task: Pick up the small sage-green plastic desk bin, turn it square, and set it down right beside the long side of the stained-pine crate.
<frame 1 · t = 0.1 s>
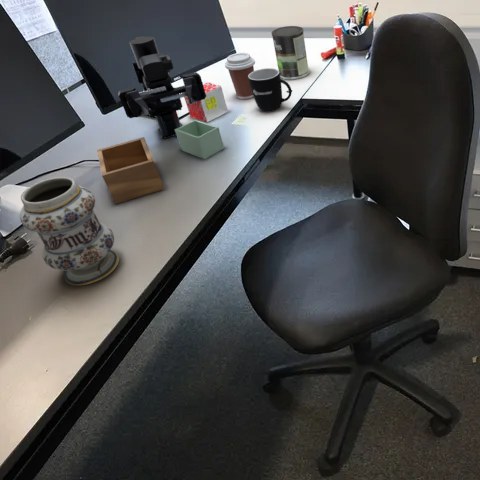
hand: (170, 106, 109), 17 cm above the table, tool horizontal, fingers open, 9 cm apart
coffee cup: (247, 95, 154), on the table
apothecary jar: (92, 268, 93), on the table
mug: (275, 108, 144), on the table
red and white cube: (209, 114, 144), on the table
crate: (136, 182, 117), on the table
bin: (203, 149, 127), on the table
coffee can: (294, 74, 165), on the table
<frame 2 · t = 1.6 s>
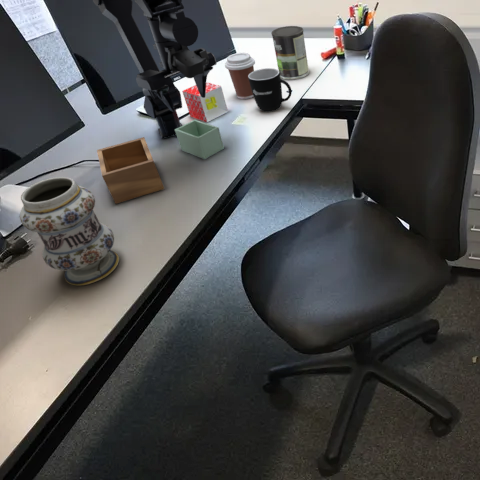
hand: (188, 104, 119), 13 cm above the table, tool pointing down, fingers open, 9 cm apart
nothing on the table moved.
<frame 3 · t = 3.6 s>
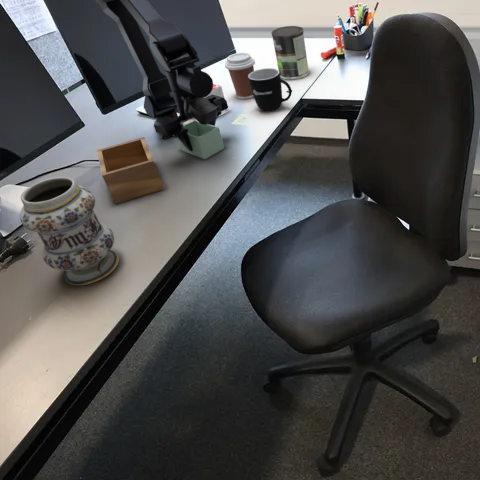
hand: (201, 145, 126), 1 cm above the table, tool pointing down, fingers closed on bin, 6 cm apart
bin: (203, 149, 127), on the table, touching gripper
everything else where it was.
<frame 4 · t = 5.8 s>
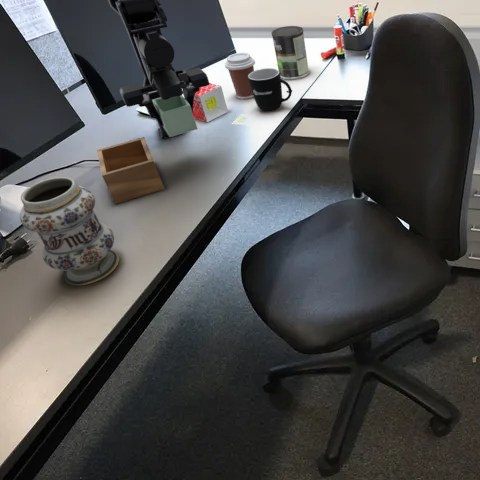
hand: (177, 121, 115), 11 cm above the table, tool pointing down, fingers closed on bin, 6 cm apart
bin: (178, 126, 116), point 10 cm above the table, touching gripper
everything else where it was.
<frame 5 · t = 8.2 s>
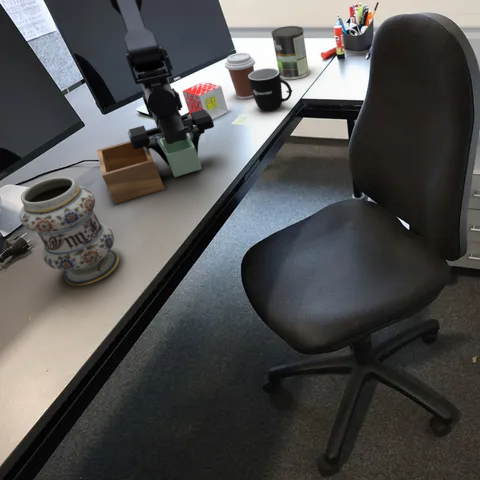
hand: (182, 160, 119), 2 cm above the table, tool pointing down, fingers closed on bin, 6 cm apart
bin: (184, 164, 120), point 1 cm above the table, touching gripper
everything else where it was.
when the fingers open (2 cm above the table, at t = 11.8 s): bin stays where it is, point 1 cm above the table.
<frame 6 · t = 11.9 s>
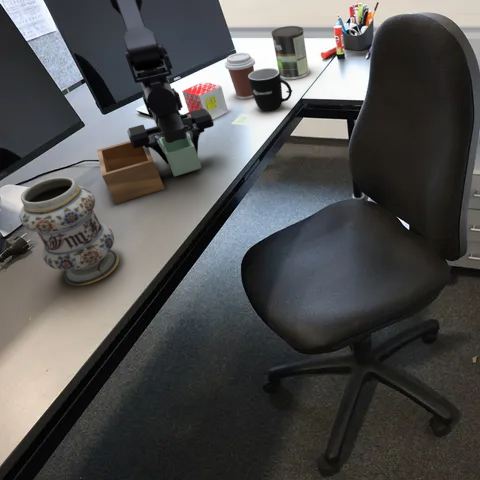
hand: (182, 159, 119), 2 cm above the table, tool pointing down, fingers open, 7 cm apart
bin: (183, 163, 120), point 1 cm above the table
everything else where it was.
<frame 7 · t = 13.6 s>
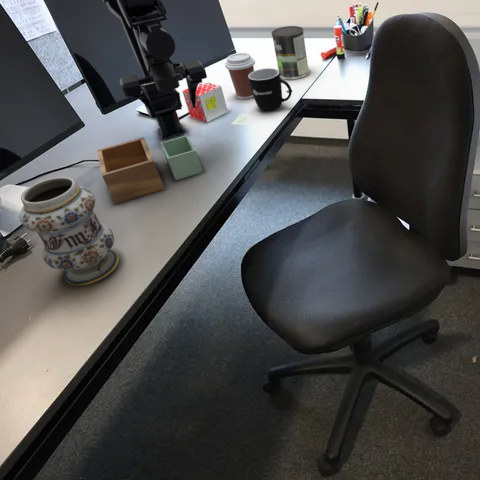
hand: (175, 112, 118), 12 cm above the table, tool pointing down, fingers open, 9 cm apart
bin: (185, 167, 120), on the table
everything else where it was.
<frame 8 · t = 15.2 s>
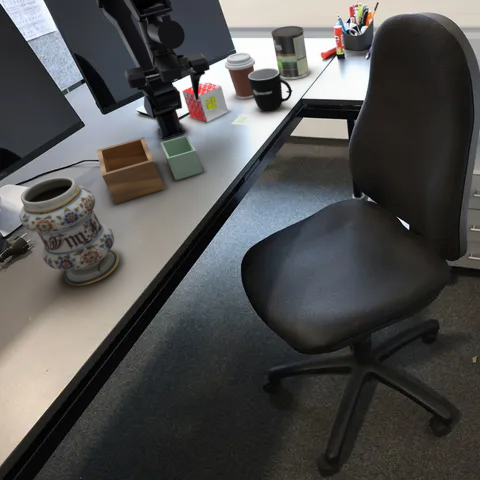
hand: (178, 104, 121), 12 cm above the table, tool pointing down, fingers open, 9 cm apart
nothing on the table moved.
at the end: bin inside the target area on the table beside the crate (0.2 cm from its centre), on the table; bin tilted 0°; the gripper is holding nothing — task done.
